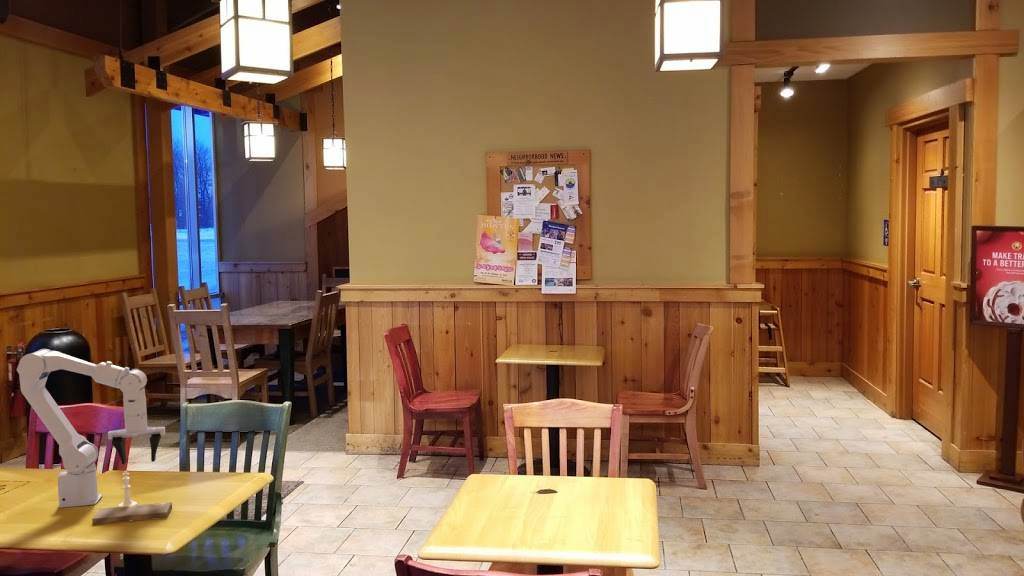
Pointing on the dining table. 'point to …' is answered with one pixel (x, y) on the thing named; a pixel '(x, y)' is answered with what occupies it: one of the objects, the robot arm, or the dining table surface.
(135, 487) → the dining table surface
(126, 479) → the chess piece
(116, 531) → the dining table surface
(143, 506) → the walnut board
